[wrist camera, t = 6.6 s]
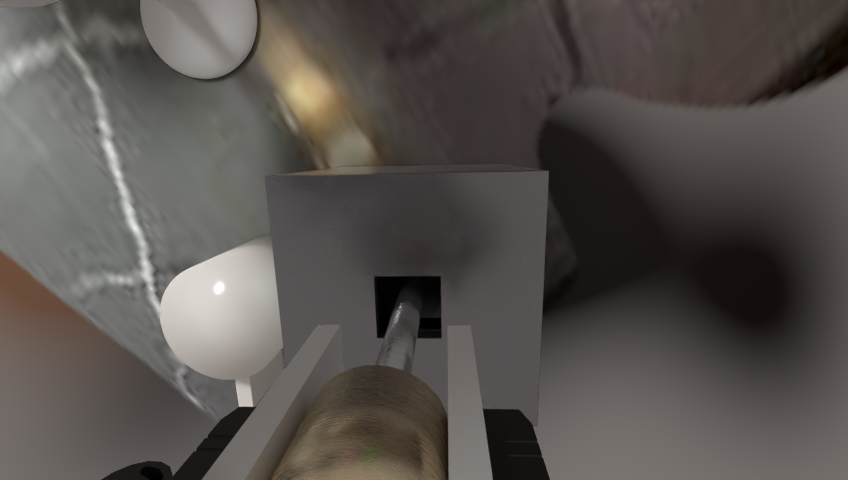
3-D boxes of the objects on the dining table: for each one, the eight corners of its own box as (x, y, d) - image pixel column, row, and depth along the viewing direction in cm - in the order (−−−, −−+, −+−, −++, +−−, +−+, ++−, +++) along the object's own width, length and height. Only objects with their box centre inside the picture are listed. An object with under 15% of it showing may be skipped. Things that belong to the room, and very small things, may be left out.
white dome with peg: (246, 353, 34) (178, 421, 25) (231, 233, 32) (150, 263, 23) (332, 354, 34) (292, 424, 25) (322, 232, 32) (275, 263, 23)
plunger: (361, 312, 29) (83, 830, 7) (353, 186, 27) (-73, 335, 5) (487, 312, 29) (634, 875, 6) (488, 184, 27) (713, 339, 4)
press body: (354, 311, 33) (291, 421, 19) (345, 166, 30) (264, 176, 17) (498, 312, 32) (537, 426, 19) (501, 163, 30) (548, 170, 16)
